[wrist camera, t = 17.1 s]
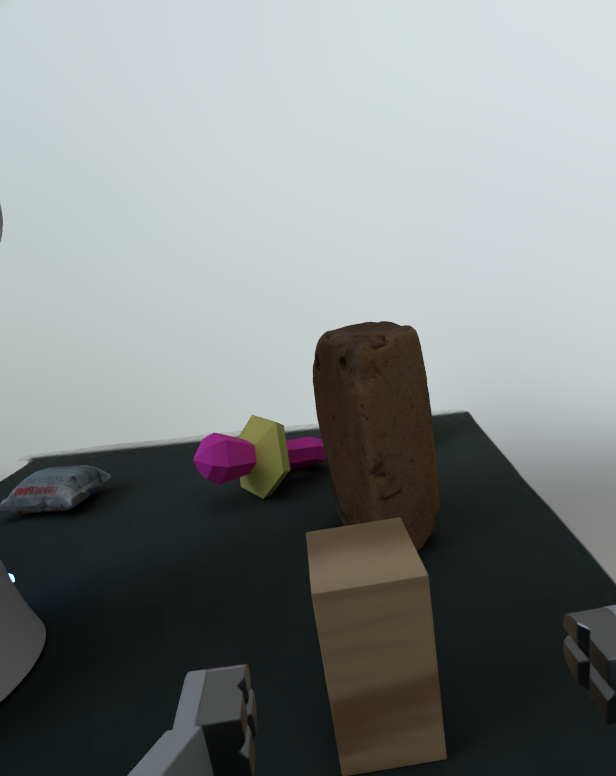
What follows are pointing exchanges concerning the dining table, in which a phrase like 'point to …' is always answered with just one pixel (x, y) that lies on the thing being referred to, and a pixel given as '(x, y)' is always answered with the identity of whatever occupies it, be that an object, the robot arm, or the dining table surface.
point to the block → (377, 426)
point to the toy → (256, 456)
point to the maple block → (377, 645)
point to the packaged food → (55, 489)
